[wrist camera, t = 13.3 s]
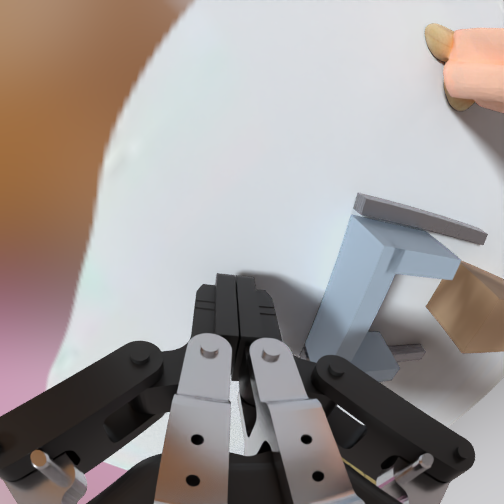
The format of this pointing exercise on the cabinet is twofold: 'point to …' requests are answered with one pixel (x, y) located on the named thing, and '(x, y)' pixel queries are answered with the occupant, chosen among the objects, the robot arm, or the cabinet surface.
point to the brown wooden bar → (471, 309)
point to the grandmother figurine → (470, 65)
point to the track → (420, 220)
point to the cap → (371, 290)
